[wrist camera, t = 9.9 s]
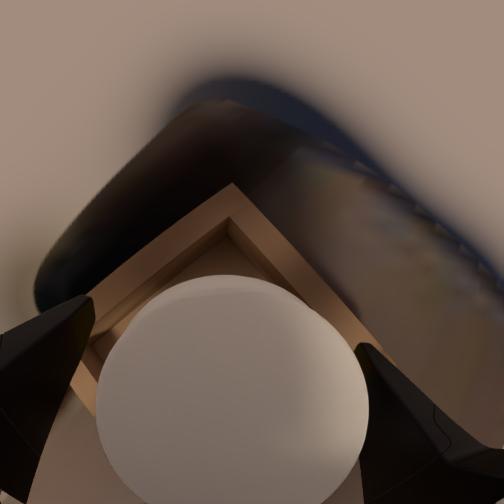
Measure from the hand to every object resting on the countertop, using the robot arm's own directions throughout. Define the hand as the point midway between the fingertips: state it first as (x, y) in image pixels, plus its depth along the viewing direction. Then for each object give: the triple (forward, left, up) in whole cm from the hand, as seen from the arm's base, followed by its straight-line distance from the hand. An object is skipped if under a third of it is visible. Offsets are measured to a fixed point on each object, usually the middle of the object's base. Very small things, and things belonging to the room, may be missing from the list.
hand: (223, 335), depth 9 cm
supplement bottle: (-1, +1, -8) cm, 8 cm away
